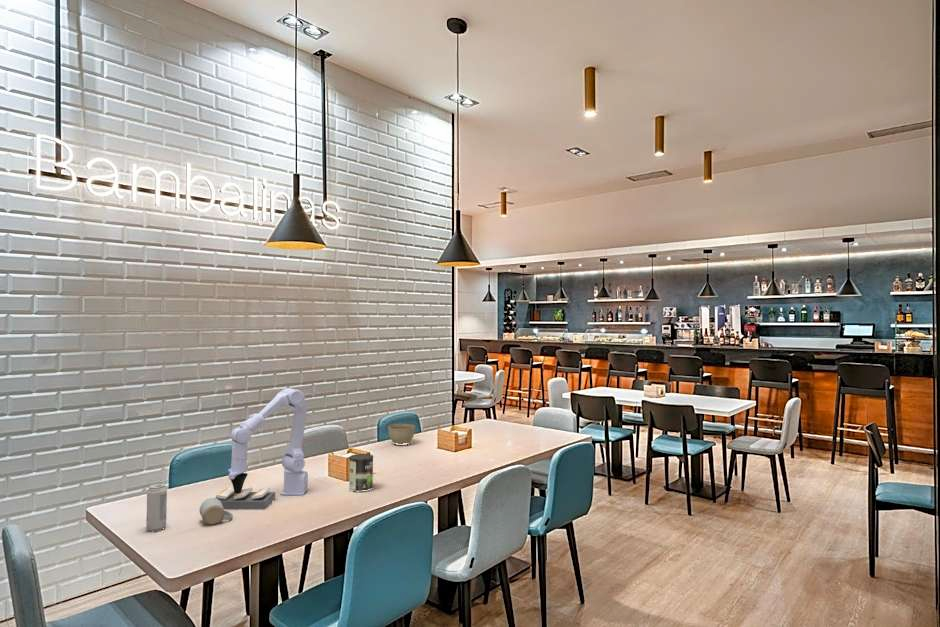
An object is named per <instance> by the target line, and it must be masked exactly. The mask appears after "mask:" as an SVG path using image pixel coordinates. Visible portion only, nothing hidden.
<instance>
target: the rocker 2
mask: <svg viewBox="0 0 940 627" xmlns="http://www.w3.org/2000/svg"><path fill="white" fill-rule="evenodd" d="M256 492H257V493H255V494H254V495H253V496H252V499H256V498H257V499H258V498H260V497H263V496H264V495H265V494H266V493H267V492H271V488H270V487H265V488H262V489H259V490H258V491H256Z"/></svg>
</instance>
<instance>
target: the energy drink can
mask: <svg viewBox="0 0 940 627" xmlns="http://www.w3.org/2000/svg"><path fill="white" fill-rule="evenodd" d="M167 495H168V488H167V487H166V484H165V483H154V484H151V485H149V486H148V489H147V492H146V522H145V523H146V526H145V527H146V529H147V530H148V532H150V531H155V532H159V530H160V531H162V529H163V528H164V529H165V527H166V526H167V513H168V512H167V511H168V510H167V509H168V508H167V507H168V506H167V504H168V503H167V501H168V500H167V499H168V498H167V497H168V496H167ZM164 529H163V530H164Z"/></svg>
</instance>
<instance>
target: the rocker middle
mask: <svg viewBox="0 0 940 627" xmlns="http://www.w3.org/2000/svg"><path fill="white" fill-rule="evenodd" d="M253 489H254V488H253V487H248V488H245V489H242V491H241V493H238V494H236V495H235V496H234V499H240V498H242V497H245V496H246V495H247V494H248V493H249V492H253Z"/></svg>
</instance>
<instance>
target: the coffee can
mask: <svg viewBox="0 0 940 627" xmlns="http://www.w3.org/2000/svg"><path fill="white" fill-rule="evenodd" d="M348 457H349V458H348V459H349V464H348V465H349V467H348V468H349V471H348V472H349V476H348V477H349V479H348V480H349V482H348V483H349V484H348V490H349V489H350V490H353V491H362V490H368V489H371V488H372V487H373V488H374V486H373V485H374V481H373V480H374V478H373V477H374V455H373V454H370V453H359V454H358V453H356V454H352V455H350V456H348ZM350 490H349V491H350Z"/></svg>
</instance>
